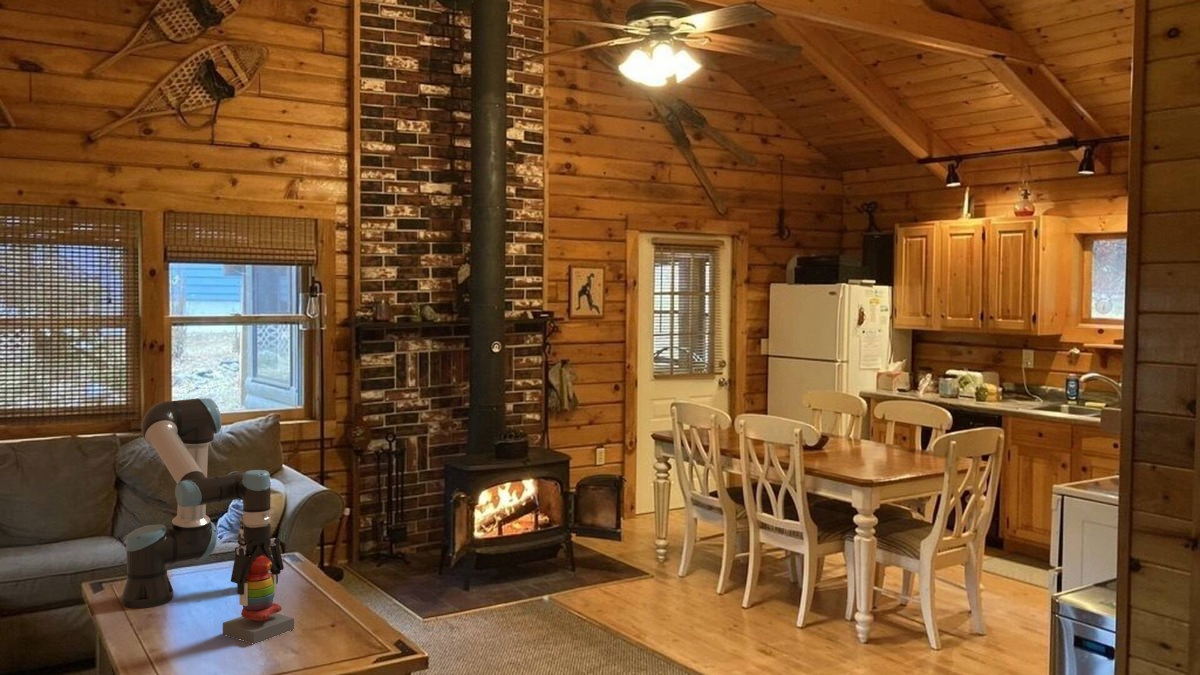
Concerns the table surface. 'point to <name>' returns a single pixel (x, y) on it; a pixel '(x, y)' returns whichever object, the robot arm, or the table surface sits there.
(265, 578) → the stacking bear
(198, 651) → the table surface
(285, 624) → the gray block
